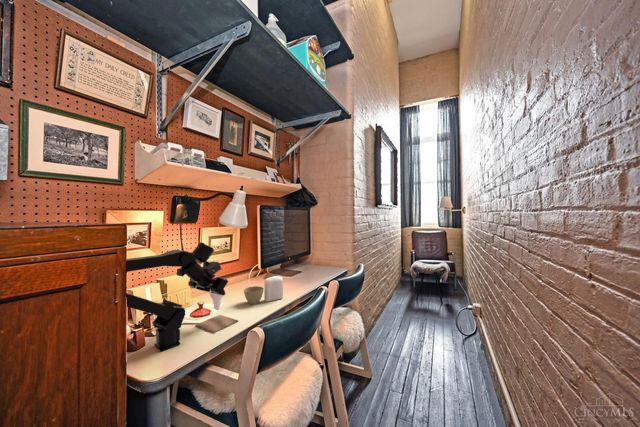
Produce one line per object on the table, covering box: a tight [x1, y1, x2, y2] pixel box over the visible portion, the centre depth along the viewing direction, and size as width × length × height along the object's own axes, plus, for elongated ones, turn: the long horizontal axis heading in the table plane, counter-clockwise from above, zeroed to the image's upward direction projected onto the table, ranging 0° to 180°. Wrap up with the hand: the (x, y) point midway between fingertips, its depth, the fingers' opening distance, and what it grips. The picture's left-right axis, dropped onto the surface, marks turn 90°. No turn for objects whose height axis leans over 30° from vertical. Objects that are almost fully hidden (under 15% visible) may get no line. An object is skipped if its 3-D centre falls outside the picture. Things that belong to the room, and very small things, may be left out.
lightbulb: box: [208, 288, 226, 311], centre depth 109 cm, size 6×6×11 cm
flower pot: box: [243, 285, 265, 305], centre depth 133 cm, size 10×10×7 cm
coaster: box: [194, 314, 239, 334], centre depth 108 cm, size 12×12×1 cm
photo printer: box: [263, 275, 284, 302], centre depth 138 cm, size 10×4×12 cm, turn 123°
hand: (219, 293), depth 110 cm, fingers closed on lightbulb, 6 cm apart
